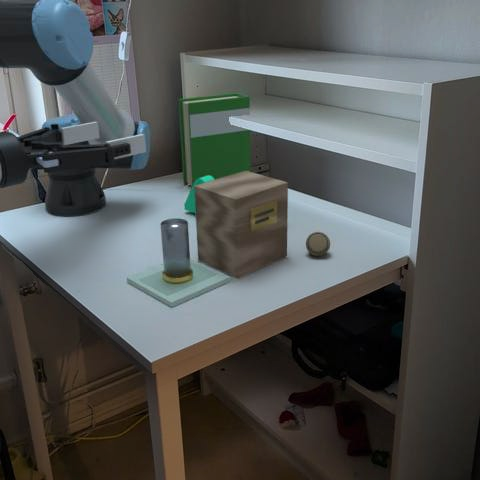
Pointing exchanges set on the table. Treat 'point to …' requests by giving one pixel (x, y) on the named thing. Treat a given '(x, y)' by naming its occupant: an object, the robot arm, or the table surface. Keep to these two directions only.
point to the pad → (182, 292)
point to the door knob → (317, 243)
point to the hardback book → (213, 136)
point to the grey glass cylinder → (176, 251)
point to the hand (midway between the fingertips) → (119, 136)
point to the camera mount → (191, 197)
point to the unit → (241, 222)
